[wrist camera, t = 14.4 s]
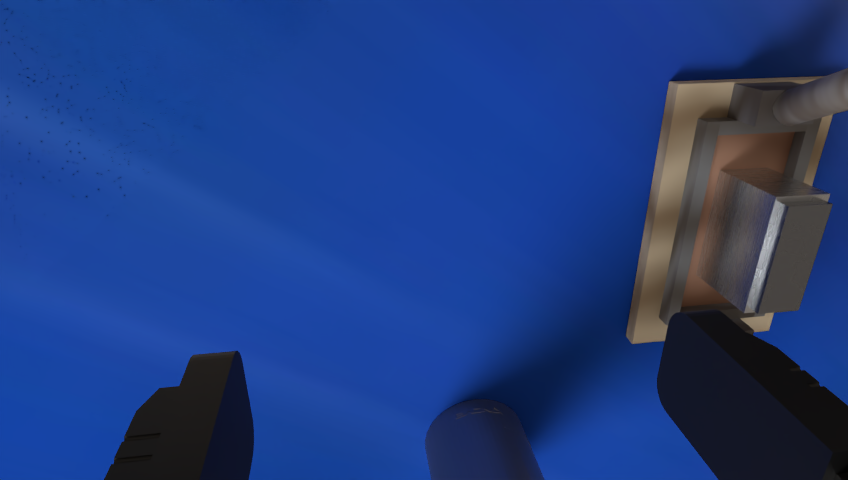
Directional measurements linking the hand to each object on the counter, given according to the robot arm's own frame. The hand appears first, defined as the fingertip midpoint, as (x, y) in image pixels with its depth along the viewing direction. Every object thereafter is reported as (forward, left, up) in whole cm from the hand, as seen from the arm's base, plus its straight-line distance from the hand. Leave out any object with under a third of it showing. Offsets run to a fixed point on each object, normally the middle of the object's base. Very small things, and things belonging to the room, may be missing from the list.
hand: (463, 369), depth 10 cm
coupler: (-11, -28, -29) cm, 42 cm away
